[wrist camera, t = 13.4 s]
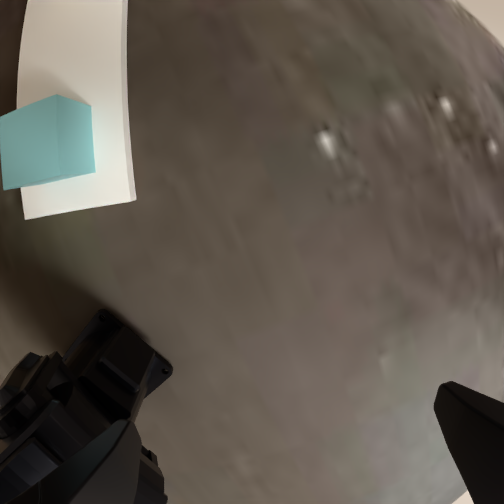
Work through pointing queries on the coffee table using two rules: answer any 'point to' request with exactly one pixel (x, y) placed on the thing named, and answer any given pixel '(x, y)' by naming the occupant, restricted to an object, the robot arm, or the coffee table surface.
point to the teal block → (46, 142)
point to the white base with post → (80, 95)
